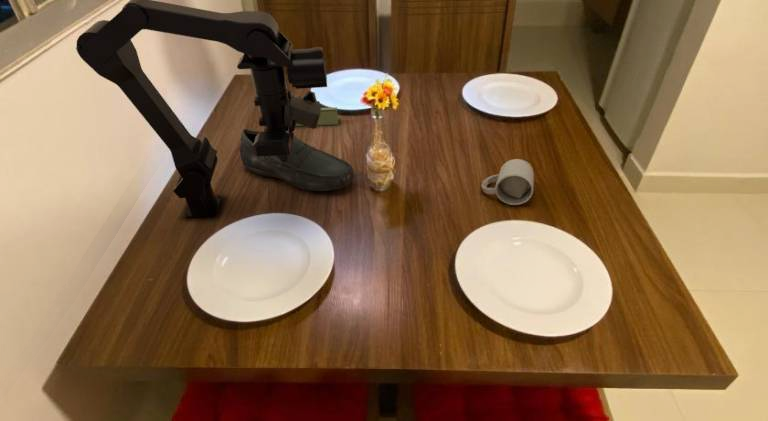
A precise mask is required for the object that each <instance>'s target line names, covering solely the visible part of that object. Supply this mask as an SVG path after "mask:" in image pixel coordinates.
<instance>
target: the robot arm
mask: <svg viewBox="0 0 768 421" xmlns="http://www.w3.org/2000/svg"><path fill="white" fill-rule="evenodd" d="M142 30H148V31H152V32H159V33H165V34H170V35H176V36H184V37H187V38H188V37H189V38H194V39H200V40H205V41H212V42H218V43H221V44H223V45H226V46H228V47H230V48H231V49H233V50H235V51H236V52H238V53H242V54H243V55H242V56H241V57H240V58H239V59H238V63H237V66H236V67H237V69H238V70H250V74H251V80H252V84H253V88H254V93H255V97H254V100H253V103H254V106H255V107H258V111H259V119H258V124H259V127H264V129H263V131H262V132H259V134H258V135H257V136H256V138H255V141H254V144H253V149H254V153H255V155H256V156H258V157H259V156H277V157H278V158H279V159H280V160H281V161H282V162H287V159H288V154H290V150H291V141H292V140H293V136H294V135H295V132H294V131H295V130H296V127H297V126H296V123H297V124H300V125H304V126H303V127H307V128H309V129H313V130H314V129H317V127H318V125H317V124H318V120H319V117H320V113H321V108H322V104H321V101H319V100H317V97H316V92H314V91H312V90H307V91H305V92H304V93H303V95H298V97H297V96H295V95H293V94H292V93H293V92H292V89H290V87H288V85H287V81H288V83H289V84H291V86H292V88H295V89H297V90H300V89H315V88H317V89H318V88H328V75H327V74H328V73H327V64H326V61H325V57H324V51H323V50H324V49H323V47H322V46H316V47H315V46H314V47H311V48H297V49H294V44H293V43H292V42H291V41H290V40H289V39H288V38H287V37H286V36H285V35H284V33H282V31H281V30H280V27H279V24H278V22H277V21H276V19H275V18H274V17H273V15H271V14H270V13H268V12H265V11H261V10H260V11H259V10H258V11H257V10H256V11H255V10H241V11H234V12H218V11H213V10H207V9H202V8H197V7H190V6H186V5H181V4H174V3H169V2H163V1H159V0H129V1H128V2H126V4H124V5H123V6H122V9H121V10H120V11H119V12H118V13H117V14H116V15H115V16H113V18H112V19H110V20H106V19H102V20H97V21H96V22H95V23H94V24H92V25H91V26H90V27H89V28H87V29H86V30H84V32H82V33H81V34H80V35H79V36H78V38H77V40H76V47H75V49H76V52H77V54H78V56H79V57H80V58H81V60H82V61H83V62H84V63H85V64H87V65H88V66H89V67H90V68H91V69H92V70H93V71H94V72H95V73H96V74H97V75H98V76H100V77H101V78H103V79H105V80H107V81H109V82H111V83H113V84H114V85H116V86H117V87H118V88H119V90H121V91H122V92H123V94H124V95H125V96H126V98H127V99H128V100H129V101H130V103H131V104H132V105H133V106H134V107H135V109H136V110H137V111H138V113H140V115H141V116H142V118H143V119H144V120H145V121H146V123H148V125H149V126H150V128H151V129H152V130H153V131H154V132H155V133H156V135H157V136H158V137H159V139H160V140H161V141H162V143H164V145H165V146H166V147H167V148H168V150H169V151H170V154H171V157H172V160H173V164H174V165H173V166H174V168H175V170H176V171H177V173H178V175H179V176H178V179H177V181H176V183H175V186H174V188H173V193H174V194H175V195H176V196H177V197H178V198H179V199H185V202H186V204H187V208H186V211H185V213H184V217H185V218H186V219H188V218H189V219H192V218H210V217H211V218H212V217H216V216H217V215H218V214H217V213H218V211H219V208H220V207H221V206H220V205H221V203H222V200H223V197H222V195H215V192H214V189H213V187H212V186H213V185H212V183H211V182H212V179H213V177H214V174H215V171H216V167H217V164H218V156H217V154H218V150H216V149H215V148H214V147H213V146H212V145H211V143H210V141H209V139H208V138H207V137H206V136H204V137H202V138H201V139H199V138H198V137H195V136H193V135H192V134H191V133H190V132H189V130H188V129H187V128H186V126H185V125H184V124H183V122H182V120H180V118H179V117H178V116H177V115H176V112H174V111H173V109H172V107H171V106H170V105H169V104H168V102H167V101H166V99H165V98H164V97H163V96H162V94H161V93H160V92H159V90H158V89H157V88H156V86H155V85H154V84H153V82H152V81H151V80H150V78H149V77H148V75H147V74H146V73H145V72H144V70H143V68H142V65H141V61H140V57H139V55H138V51H137V48H136V47H135V45H134V43H133V41H132V39H133V38H134V37H135V36H137V35H138V34H139V33H140V32H141V31H142ZM285 67H286V73H287V81H286V73H285Z"/></svg>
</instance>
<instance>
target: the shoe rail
mask: <svg viewBox="0 0 768 421" xmlns="http://www.w3.org/2000/svg"><path fill="white" fill-rule="evenodd" d="M333 125H339V116H338V107H321V113H320V117H319V120H318V124H317V126H333ZM295 127H305V126H304V125H300V124H297V123H296V126H295Z"/></svg>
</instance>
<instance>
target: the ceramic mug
mask: <svg viewBox="0 0 768 421" xmlns="http://www.w3.org/2000/svg"><path fill="white" fill-rule="evenodd" d="M534 181H535V173H534V170H533V166H532V165H531V164H530V163H529V162H528V161H527V160H525V159H521V158H512V159H509V160H507V161H505V162H504V164H503V165H502V166H501V168H500V170H499V172H498V174H493V175H491V176H488V177H486V178H485V179H483V181H482V183H481V188H482V191H483V193H484V194H486V195H496V196H497V198H498V199H499V201H501V202H502V203H505V204H506V205H511V206H520V205H523V204H525V203H527V202H528V201H529V200H530V199H531V198H532V196H533V194H534ZM494 182H496V183H495V186H494V187H488V186H489V185H490V184H492V183H494Z"/></svg>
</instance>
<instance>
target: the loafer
mask: <svg viewBox="0 0 768 421" xmlns="http://www.w3.org/2000/svg"><path fill="white" fill-rule="evenodd" d="M259 132H263V131H260V130H255V129H248V128H244V129H243V130H242V131H241V133H240V145H239V147H238V148H239V152H240V153H239V154H240V155H239V156H240V158H241V159H240V160H241V162H242V165H243V166H244V167H245V168H246V169H247V170H248V171H249V172H251V173H254V174H256V175H259V176H264V177H266V178H277V179H280V180H283V181H285V183H288V184H289V185H292V186H295V187H297V188H299V189H303V190H305V191H308V192H309V191H311V192H316V191H317V192H328V191H329V192H330V191H335V190H336V191H337V190H339V189H343V188H344V187H346V186H349V184H351V182H352V181H353V180H354V179H355V171H354V168H353V165H352V164H350V162H348V161H346V160H344V159H341V158H339V157H338V156H335V155H332V154H330V153H328V152H326V151H324V150H320V149H319V148H316V147H315V146H312V145H310V144H309V143H308V144H307V142H305V141H302V140H301V139H300V138H299V137H297V135H295V134H294V136H293V140H292V141H291V150H290V154H288V159H287V162H282V161H281V160H280V159H279V158H278V157H277V156H259V157H258V156H256V155H255V153H254V149H253V144H254V141H255V138H256V136H257V135H258V134H259Z"/></svg>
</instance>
